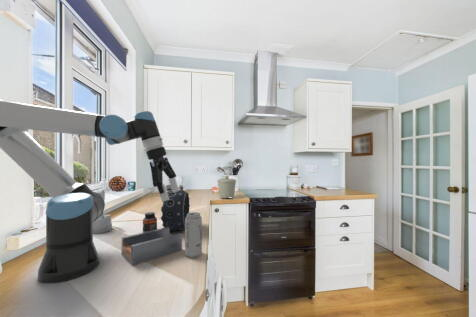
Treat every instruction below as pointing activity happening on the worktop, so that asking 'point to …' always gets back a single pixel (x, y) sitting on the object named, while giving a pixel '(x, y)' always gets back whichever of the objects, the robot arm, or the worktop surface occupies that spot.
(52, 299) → the worktop surface
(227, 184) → the canister
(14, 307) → the worktop surface
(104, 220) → the engine component
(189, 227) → the energy drink can
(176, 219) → the black thick disc
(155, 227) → the supplement bottle
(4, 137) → the robot arm
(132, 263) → the channel
